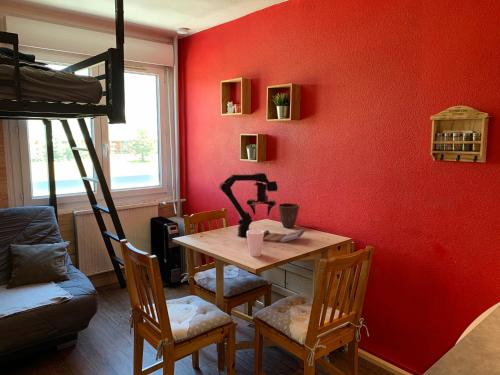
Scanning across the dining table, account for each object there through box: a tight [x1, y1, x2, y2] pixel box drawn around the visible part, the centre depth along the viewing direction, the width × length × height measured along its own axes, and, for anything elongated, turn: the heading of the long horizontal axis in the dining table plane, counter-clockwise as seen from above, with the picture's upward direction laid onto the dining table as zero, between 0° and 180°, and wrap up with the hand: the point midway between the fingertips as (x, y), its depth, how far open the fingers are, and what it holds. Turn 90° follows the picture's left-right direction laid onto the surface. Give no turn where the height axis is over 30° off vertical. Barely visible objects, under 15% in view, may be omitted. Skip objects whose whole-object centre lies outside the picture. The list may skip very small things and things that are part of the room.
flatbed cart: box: [263, 229, 287, 244], centre depth 240 cm, size 13×16×3 cm
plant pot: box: [278, 202, 300, 229], centre depth 271 cm, size 15×15×16 cm
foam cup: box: [246, 229, 265, 257], centre depth 207 cm, size 10×9×13 cm
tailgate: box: [280, 228, 306, 243], centre depth 236 cm, size 2×16×12 cm
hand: (261, 215), depth 249 cm, fingers open, 9 cm apart
